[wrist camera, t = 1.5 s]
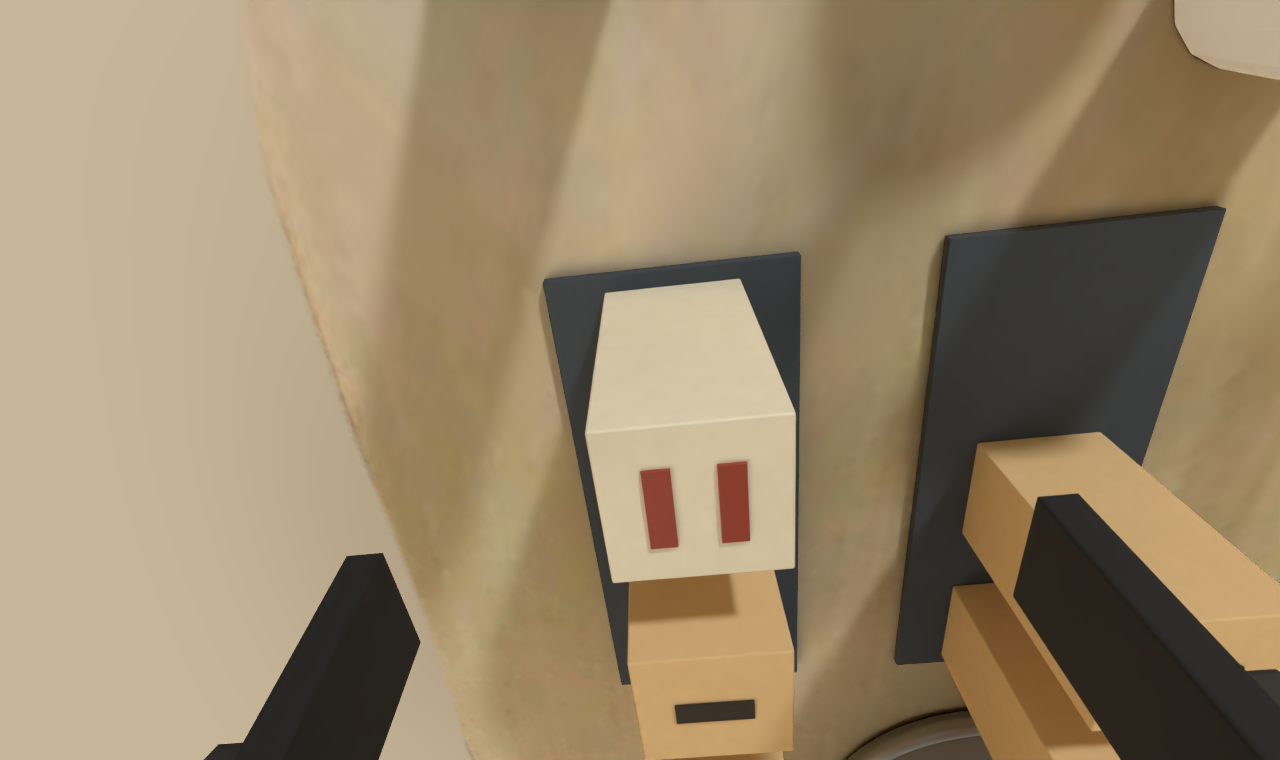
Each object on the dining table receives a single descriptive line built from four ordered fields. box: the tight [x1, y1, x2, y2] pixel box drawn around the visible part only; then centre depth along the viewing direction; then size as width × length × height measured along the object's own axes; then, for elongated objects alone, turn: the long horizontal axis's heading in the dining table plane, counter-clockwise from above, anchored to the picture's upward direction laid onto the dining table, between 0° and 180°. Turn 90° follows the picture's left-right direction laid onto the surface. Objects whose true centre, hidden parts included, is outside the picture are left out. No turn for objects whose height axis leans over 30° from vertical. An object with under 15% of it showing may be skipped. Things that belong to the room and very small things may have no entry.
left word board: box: [543, 252, 801, 760], centre depth 23 cm, size 22×9×10 cm, turn 6°
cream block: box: [585, 279, 796, 583], centre depth 19 cm, size 5×5×9 cm
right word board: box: [894, 206, 1280, 760], centre depth 22 cm, size 22×9×10 cm, turn 6°
